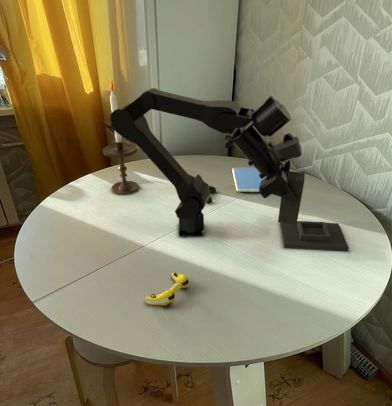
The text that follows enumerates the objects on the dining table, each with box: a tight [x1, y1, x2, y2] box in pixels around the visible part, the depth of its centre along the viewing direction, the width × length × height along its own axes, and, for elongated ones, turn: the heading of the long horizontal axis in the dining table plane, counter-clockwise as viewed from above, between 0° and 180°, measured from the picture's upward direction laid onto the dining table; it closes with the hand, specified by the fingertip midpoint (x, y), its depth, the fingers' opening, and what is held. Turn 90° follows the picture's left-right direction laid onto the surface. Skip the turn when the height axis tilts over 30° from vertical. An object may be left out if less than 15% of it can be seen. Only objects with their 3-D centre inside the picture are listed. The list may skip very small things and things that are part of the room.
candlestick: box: [102, 79, 140, 196], centre depth 112 cm, size 11×11×35 cm
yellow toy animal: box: [144, 272, 190, 307], centre depth 77 cm, size 10×6×4 cm, turn 148°
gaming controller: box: [206, 185, 217, 205], centre depth 116 cm, size 10×5×6 cm
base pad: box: [280, 220, 349, 252], centre depth 95 cm, size 16×12×3 cm
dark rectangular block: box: [277, 170, 306, 225], centre depth 86 cm, size 5×5×12 cm
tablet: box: [231, 167, 267, 193], centre depth 126 cm, size 19×13×1 cm, turn 0°
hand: (296, 196), depth 86 cm, fingers closed on dark rectangular block, 4 cm apart
